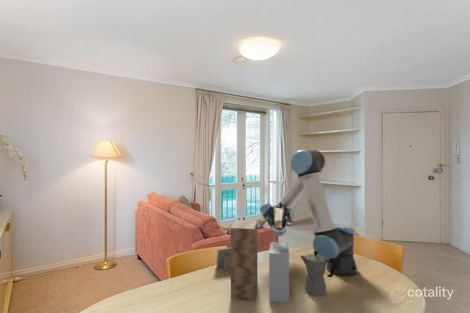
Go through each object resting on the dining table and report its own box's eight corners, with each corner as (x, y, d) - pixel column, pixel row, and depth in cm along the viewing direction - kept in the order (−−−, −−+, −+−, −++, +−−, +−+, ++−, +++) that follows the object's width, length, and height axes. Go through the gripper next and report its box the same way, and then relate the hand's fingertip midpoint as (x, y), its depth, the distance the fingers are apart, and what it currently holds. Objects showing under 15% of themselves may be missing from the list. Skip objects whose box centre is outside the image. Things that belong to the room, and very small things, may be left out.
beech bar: (282, 214, 135) (282, 208, 135) (282, 228, 111) (282, 220, 111) (275, 214, 136) (275, 208, 136) (274, 227, 112) (274, 220, 112)
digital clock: (245, 262, 154) (245, 243, 154) (247, 269, 145) (247, 249, 145) (216, 263, 153) (216, 244, 153) (216, 270, 144) (216, 250, 144)
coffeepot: (298, 293, 120) (298, 252, 120) (301, 284, 129) (301, 245, 128) (336, 300, 114) (336, 257, 114) (337, 290, 123) (337, 249, 123)
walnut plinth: (257, 285, 128) (257, 220, 127) (254, 301, 114) (254, 228, 114) (236, 283, 130) (236, 219, 129) (230, 299, 116) (230, 227, 115)
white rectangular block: (288, 286, 127) (288, 243, 126) (288, 302, 113) (288, 254, 112) (270, 285, 128) (270, 242, 128) (269, 301, 114) (269, 253, 114)
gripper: (294, 231, 144) (296, 218, 124) (263, 229, 147) (260, 216, 127) (294, 217, 148) (296, 202, 128) (264, 215, 151) (261, 201, 130)
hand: (278, 209), depth 127 cm, fingers closed on beech bar, 3 cm apart
